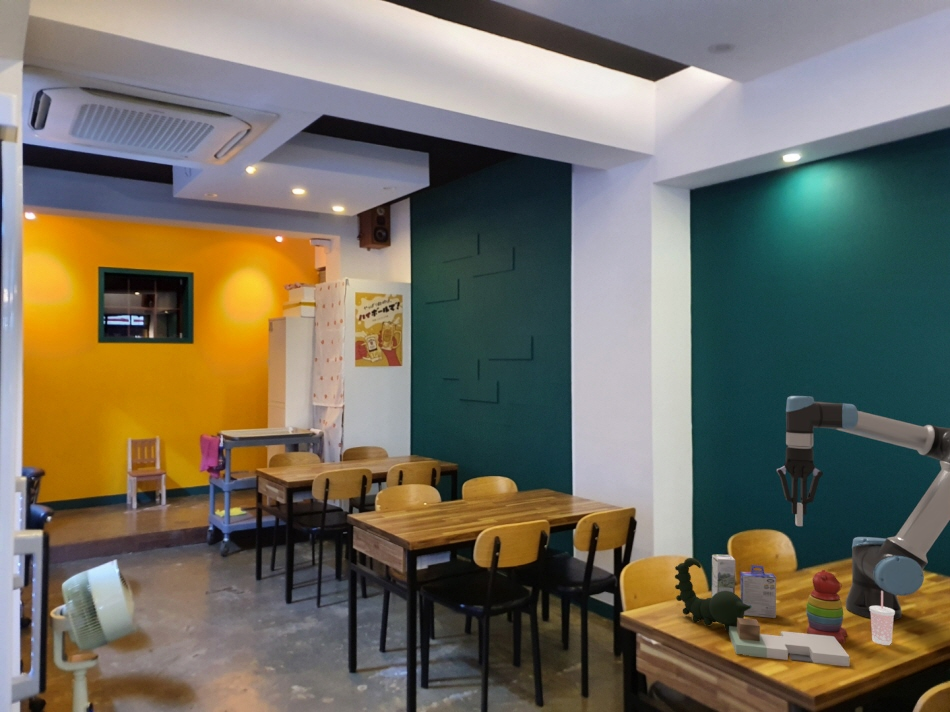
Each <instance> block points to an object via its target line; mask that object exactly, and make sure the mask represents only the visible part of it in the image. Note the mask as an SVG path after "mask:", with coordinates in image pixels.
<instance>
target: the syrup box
mask: <svg viewBox="0 0 950 712" xmlns="http://www.w3.org/2000/svg"><path fill="white" fill-rule="evenodd" d="M711 557H712V558H711V597H710V598H712V597H713V596H714V595H715V594H716V593H718V592H720V591H730V592H733V593H735V592H736V586H735V585H736V559H735V558H734V557H733V556H732V555H730V554H712V555H711ZM735 594H736V593H735Z"/></svg>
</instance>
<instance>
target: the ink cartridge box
mask: <svg viewBox="0 0 950 712" xmlns="http://www.w3.org/2000/svg"><path fill="white" fill-rule="evenodd" d="M756 568H757V570H755V569H756ZM758 569H759V570H758ZM739 576H740V599H741V600H742V602H743V603H744V604H746V605H748V606H750V609H748V610H746V611H745V612H744V616H747V617H749V616H750V617H758V618H759V617H760V618H762V617H763V618H771V619H775V618H776V617H777V577H776V576H775V574H774V573H771V572H770V573H767V572H765V570H764V565H757V564H756V565H755V564H752V565H750V571H740V575H739Z"/></svg>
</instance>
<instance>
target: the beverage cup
mask: <svg viewBox="0 0 950 712" xmlns="http://www.w3.org/2000/svg"><path fill="white" fill-rule="evenodd" d="M869 608H870V611H871V618H870V623H871V624H870V626H871V640H872V641H873V643H875V644H878V645H883V646H890V644H891V643H892V644H893V631H894V630H893V629H894V620H893V618H894V615H895V611H894V610H893V609H891V608H888V607H883V591H881V606H870V607H869ZM892 644H891V645H892Z"/></svg>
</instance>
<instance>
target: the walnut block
mask: <svg viewBox="0 0 950 712" xmlns="http://www.w3.org/2000/svg"><path fill="white" fill-rule="evenodd" d="M760 631H761V625H760V624H759V622H758V620H757V619H754V618H753V619H752V618H745V617H744V618H737V633H738V636H739V638H740V639H743V640H753V641H760V634H761V632H760Z"/></svg>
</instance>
